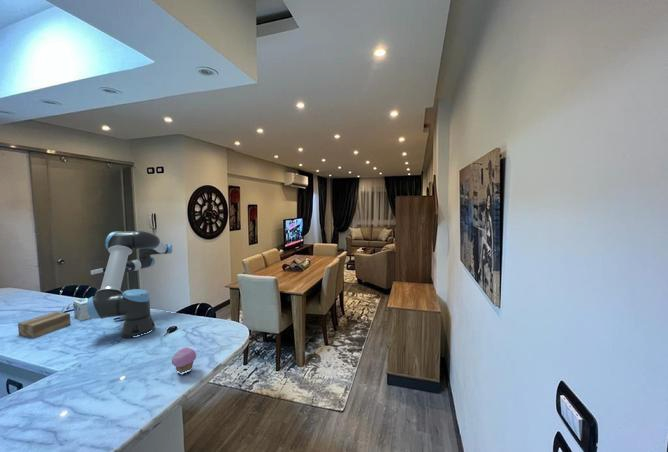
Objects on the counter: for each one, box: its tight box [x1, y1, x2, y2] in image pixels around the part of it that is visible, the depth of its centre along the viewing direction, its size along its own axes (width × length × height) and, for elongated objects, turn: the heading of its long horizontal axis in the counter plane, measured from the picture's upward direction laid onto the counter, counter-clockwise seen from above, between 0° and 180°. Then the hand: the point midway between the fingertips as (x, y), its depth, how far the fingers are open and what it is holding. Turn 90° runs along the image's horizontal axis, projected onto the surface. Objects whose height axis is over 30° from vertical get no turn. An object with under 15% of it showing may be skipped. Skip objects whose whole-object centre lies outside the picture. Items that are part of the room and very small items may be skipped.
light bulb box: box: [72, 297, 92, 322], centre depth 166 cm, size 11×7×11 cm, turn 62°
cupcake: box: [171, 347, 197, 373], centre depth 111 cm, size 9×9×10 cm
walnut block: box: [17, 311, 72, 339], centre depth 149 cm, size 12×16×7 cm
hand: (98, 273), depth 172 cm, fingers open, 13 cm apart
